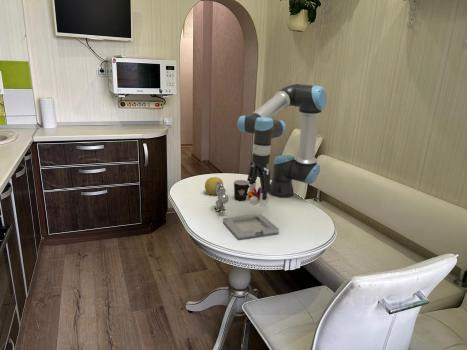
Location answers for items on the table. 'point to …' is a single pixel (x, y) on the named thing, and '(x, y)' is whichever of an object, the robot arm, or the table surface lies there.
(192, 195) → the table surface
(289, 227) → the table surface
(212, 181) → the fruit
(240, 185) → the coffee mug
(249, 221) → the plate
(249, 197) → the colorful rounded-lobe toy
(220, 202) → the robot toy
